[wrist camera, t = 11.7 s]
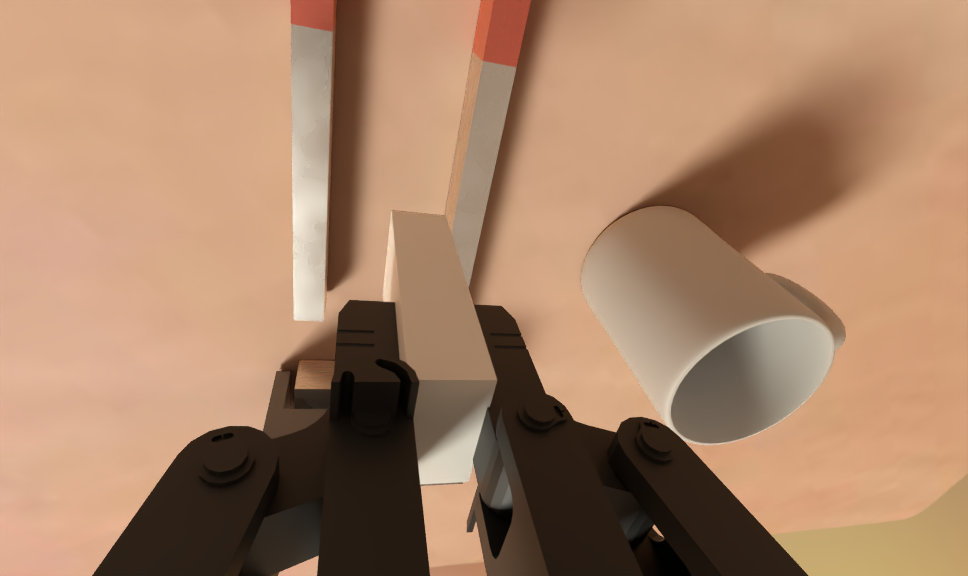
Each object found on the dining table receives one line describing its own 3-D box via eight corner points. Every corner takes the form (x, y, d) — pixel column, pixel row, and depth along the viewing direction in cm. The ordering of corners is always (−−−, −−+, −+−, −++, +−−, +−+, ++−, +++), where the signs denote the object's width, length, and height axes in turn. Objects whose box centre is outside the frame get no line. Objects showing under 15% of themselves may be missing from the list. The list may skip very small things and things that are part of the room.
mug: (572, 324, 33) (647, 460, 24) (587, 209, 28) (688, 325, 19) (731, 304, 35) (855, 423, 26) (770, 193, 30) (939, 292, 21)
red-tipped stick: (326, 297, 28) (323, 321, 26) (298, 296, 27) (293, 320, 25) (338, -61, 19) (335, -63, 17) (297, -71, 18) (290, -74, 17)
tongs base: (430, 419, 35) (434, 451, 33) (299, 420, 33) (294, 456, 31) (518, -17, 21) (537, -14, 19) (298, -70, 19) (288, -74, 16)
